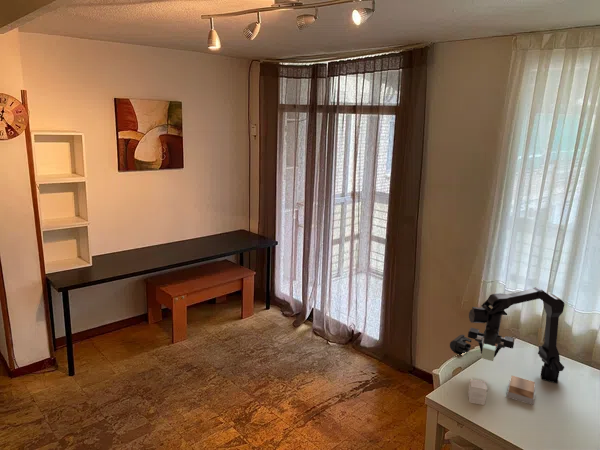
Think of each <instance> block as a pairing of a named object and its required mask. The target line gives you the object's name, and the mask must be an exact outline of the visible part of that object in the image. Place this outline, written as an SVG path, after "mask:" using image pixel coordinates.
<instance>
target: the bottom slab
mask: <svg viewBox="0 0 600 450" xmlns="http://www.w3.org/2000/svg"><path fill="white" fill-rule="evenodd" d="M510 381H511V379H510V380H509V381H508V387H507V392H506V393H507V394H506V398H510V399H512V400H516V401H519V402H523V403H525V404H530V405H534V403H535V392H536V387H535V386H534V393H533V399H531V398H528V397H524V396H521V395H518V394H515V393H511V392H509V386H510Z"/></svg>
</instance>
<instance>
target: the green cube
mask: <svg viewBox="0 0 600 450" xmlns="http://www.w3.org/2000/svg"><path fill="white" fill-rule="evenodd" d="M496 347H497V345H495V346H491V345H488V344H484V343H483V349H482V354H481V356H480V357H481V358H480V359H483V360H487V361H490V362H494V359H495V357H494V354H495V350H496Z"/></svg>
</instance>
